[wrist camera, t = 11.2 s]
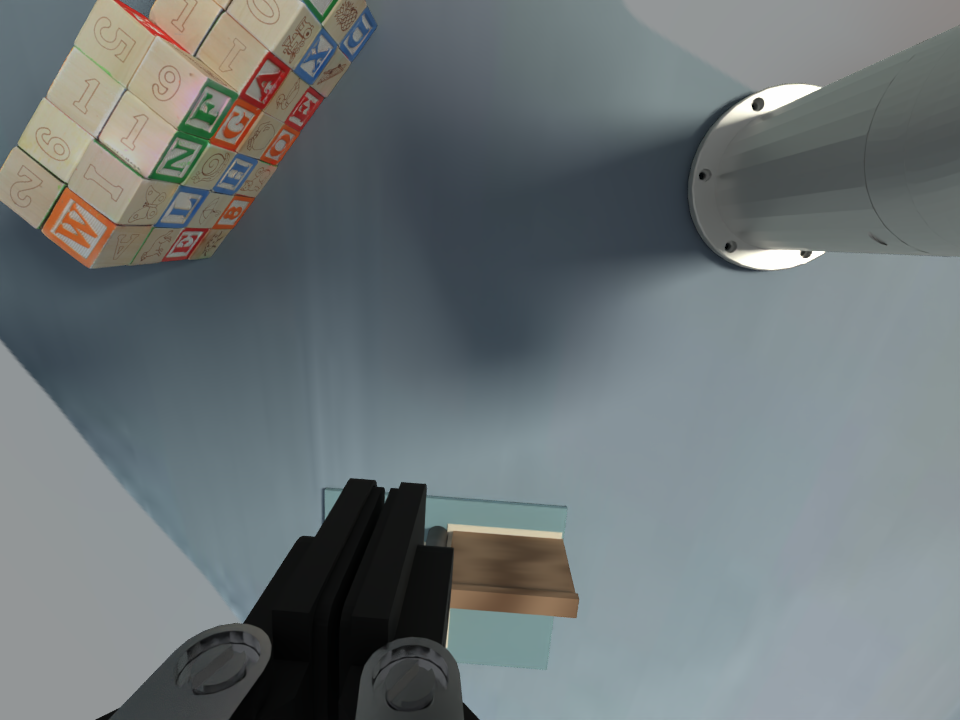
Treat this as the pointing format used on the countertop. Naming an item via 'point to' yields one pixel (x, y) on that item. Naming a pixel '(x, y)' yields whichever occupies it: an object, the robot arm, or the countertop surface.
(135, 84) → the stack of blocks
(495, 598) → the fixed fence panel
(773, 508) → the countertop surface
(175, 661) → the robot arm
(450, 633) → the board
